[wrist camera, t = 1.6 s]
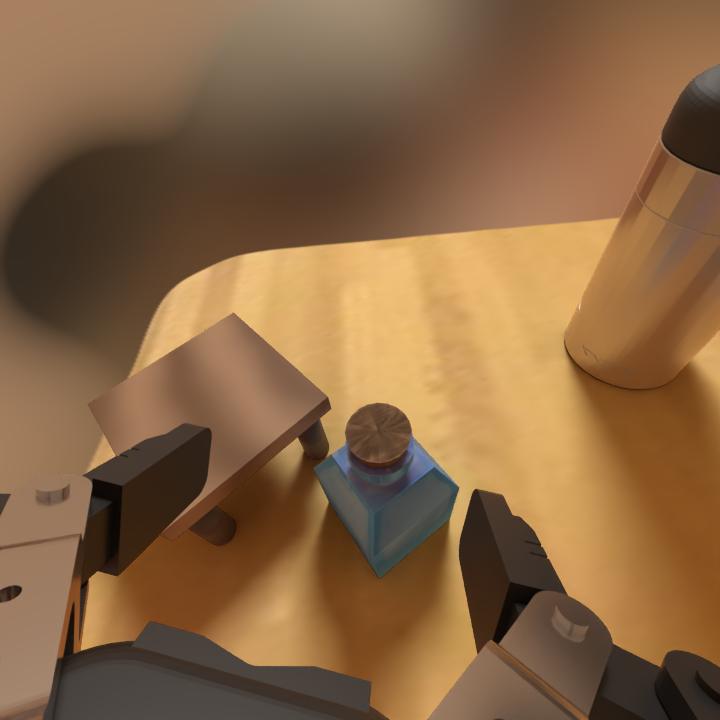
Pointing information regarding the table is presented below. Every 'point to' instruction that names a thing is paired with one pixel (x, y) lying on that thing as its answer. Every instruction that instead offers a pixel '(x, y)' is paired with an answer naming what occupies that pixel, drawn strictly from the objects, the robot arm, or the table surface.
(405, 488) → the perfume bottle
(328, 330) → the table surface
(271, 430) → the brown legged piece
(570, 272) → the table surface
